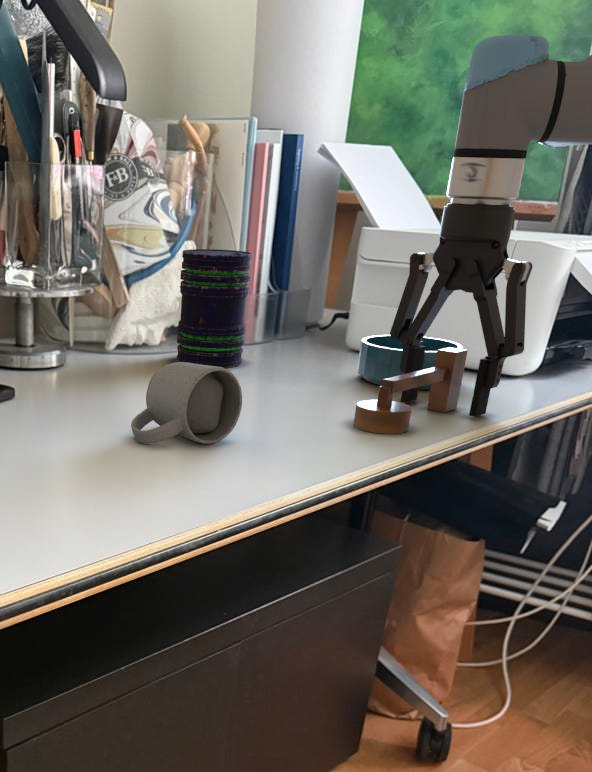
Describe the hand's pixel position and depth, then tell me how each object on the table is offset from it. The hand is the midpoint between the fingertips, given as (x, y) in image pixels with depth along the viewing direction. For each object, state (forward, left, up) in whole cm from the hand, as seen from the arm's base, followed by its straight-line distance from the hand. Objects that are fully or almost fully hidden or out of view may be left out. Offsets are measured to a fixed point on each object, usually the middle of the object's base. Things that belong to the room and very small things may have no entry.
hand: (441, 407), depth 114 cm
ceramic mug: (+21, +30, 0) cm, 37 cm away
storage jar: (+35, -12, 0) cm, 38 cm away
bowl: (+7, -15, 0) cm, 17 cm away
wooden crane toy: (+2, +7, 0) cm, 8 cm away
